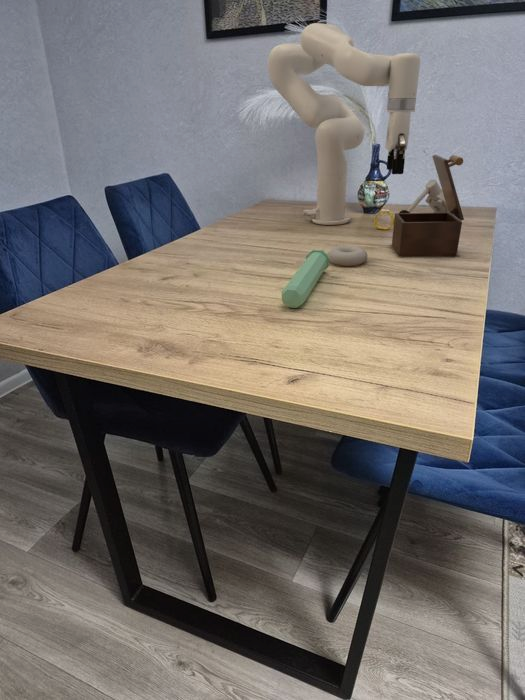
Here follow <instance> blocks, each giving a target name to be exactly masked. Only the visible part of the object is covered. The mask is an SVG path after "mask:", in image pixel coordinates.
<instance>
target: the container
mask: <svg viewBox="0 0 525 700" xmlns="http://www.w3.org/2000/svg"><path fill="white" fill-rule="evenodd" d="M325 251H326V250H324V249H317V248H313V249H312V250H311V251H310V252H308V254H307V255H305V260H304V261H303V263H302V264H301V265H300V267H299V268H298V269H297V271H296V272H295V273H294V274H293V276H292V277H291V278H290V280H289V281H288V282H287V284H285V286H284V287H283V289H282V290H281V301H282V303H283V304H284V305H285V306H286V307H287V308H294V309H297V308H299V307H301V306H302V305H303V304H304V303H305V301H306V300H307V299H308V297H309V295H310V294H311V292H312V290H313V289H314V287H315V285H316V284H317V283H318V281H319V279H320V278H321V276H322V274H323V273H324V271H326V270H327V269H328V268H329V267H330V260H329V256H328V253H327V252H325Z"/></svg>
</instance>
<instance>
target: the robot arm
mask: <svg viewBox="0 0 525 700" xmlns="http://www.w3.org/2000/svg"><path fill="white" fill-rule="evenodd" d="M299 40H300V43H281V44H278V45H276V46H274V47H273V48H272V49H271V50H270V52H269V55H268V57H267V71H268V76H269V79H270V82H271V84H272V86H273V87H274V89H275V90H276V91H277V93H278V94H279V95H280V96H281V97H282V98H283V99H284V101H286V102H287V103H288V105H289V106H290V107H291V109H292V111H294V112H295V114H296V115H297V116H298V118H299V119H300V120H301V121H302V122H303V124H304V125H305V126H307V127H308V128H313V129H314V128H315V129H316V130H315V134H314V143H315V149H316V154H317V155H316V157H317V160H316V161H317V171H316V172H317V177H316V179H317V182H316V206H315V208H312V209H303V216H306V217H311V221H312V223H313V224H316V225H322V226H338V225H345V224H347V223H349V222H350V217H349V216H348V215H346V201H347V200H346V199H347V175H348V162H347V157H346V155H345V151H349V150H354V149H356V148H358V147H359V146H360V145H361V144H362V143H363V140H364V138H365V129H364V125H363V124H362V121H361V120H360V119H359V117H358V116H357V115H356V114H355V113H354V112H353V110H352V109H351V108H350V107H349V106H348V105H347V103H346V102H345V101H344V100H343V99H342V98H340V97H339V96H337V95H335V94H320V93H318V92H317V91H316V90H314V88H313V87H312V85H310V84H309V82H307V80H305V79H304V78H303V77H301V76H306V75H310V74H313V73H314V72H316V71H317V70H319V69H320V68H322V67H323V66H325V65H328V66H330V67H332V68H334V69H335V71H336V72H337V73H338V74H339V75H340V76H341V77H343V78H345V79H347V80H348V81H351V82H352V83H355V84H357V85H359V86H363V87H388V94H387V105H386V113H389V115H388V121H387V128H386V137H385V145H384V148H385V149H386V150H387V151H388V153H387V154H388V155H387V160H386V170H389V171H390V170H391V175H403V174H404V172H405V162H406V159H405V158H406V151H407V149H408V145H409V138H410V137H409V136H410V127H411V126H410V124H411V115H412V114H411V113H413V112H414V113H415V112H416V102H417V96H418V95H417V94H418V85H419V76H420V67H421V56H420V54H418V53H416V52H404V53H396V54H394V55H391V54H378V53H377V54H376V53H368V52H365V51H363V50H361V49H358V48H357V47H355V43H354V39H353V38H352V37H351V36H349V35H347V34H344V33H343V31H342V29H341V28H339V26H337V25H334V24H329V23H321V22H314V23H310V24H308V25H307V26H306V27H305V28H304V29H303V30H302V32H301V34H300V39H299Z"/></svg>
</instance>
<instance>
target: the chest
mask: <svg viewBox="0 0 525 700" xmlns="http://www.w3.org/2000/svg"><path fill="white" fill-rule="evenodd" d="M393 217H394V223H393V226H392V227H393V228H392V237H391V238H392V240H391V246H392V248H393V250H394V251H395V252H396V254H397V256H398V257H399V258H421V257H422V258H424V257H425V258H428V257H429V258H431V257H432V258H434V257H436V258H437V257H438V258H439V257H457V256H458V250H459V244H460V237H461V231H462V227H463V226H462V225H463V221H461V220H459V219H458V218H457V217H455V216H454V215H452V214H451V213H450V212H446V213H433V212H410V213H399V212H396V213H394V216H393Z"/></svg>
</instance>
